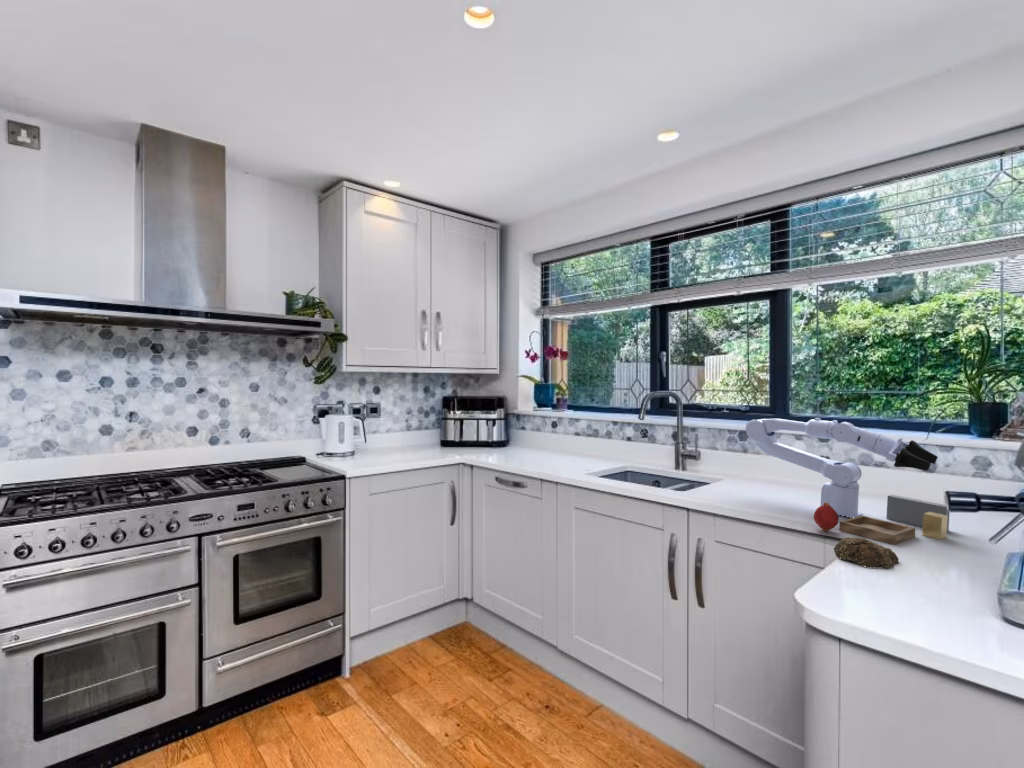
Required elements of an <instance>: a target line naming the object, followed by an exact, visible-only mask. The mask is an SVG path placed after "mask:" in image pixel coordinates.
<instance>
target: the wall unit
mask: <svg viewBox="0 0 1024 768" xmlns="http://www.w3.org/2000/svg"><path fill="white" fill-rule="evenodd" d="M886 500H887V501H886V505H887V506H886V518H887V519H886V520H890V519H891V520H890V521H894V520H895V522H900V523H903V524H907V525H912V526H916V527H922V528H923V515H924V513H927V512H933V513H938V514H943V515H948V517H947V532H948V531H949V530H950V529H949V528H950V516H951V515H950V513H951V512H949V511H948V510H947V506H946V505H947V504H943V503H942V504H941V503H938V502H933V501H928V500H921V499H916V498H912V497H905V496H901V495H896V494H889V495H887V499H886Z"/></svg>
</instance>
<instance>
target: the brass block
mask: <svg viewBox="0 0 1024 768" xmlns="http://www.w3.org/2000/svg"><path fill="white" fill-rule="evenodd" d="M947 517H948V515H943V514H938V513H933V512H927V513H924V515H923V527H922V536H924V537H929V538H932V539H936V540H939V541H941V540H943V539H946V538H947V532H948V531H947Z"/></svg>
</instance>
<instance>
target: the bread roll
mask: <svg viewBox="0 0 1024 768" xmlns="http://www.w3.org/2000/svg"><path fill="white" fill-rule="evenodd" d="M833 551H834V553H835V554H834V555H835V556H836V558H838V559H839V560H841V559H842V561H848V562H853V563H855V564H858V565H859V566H860V565H863V566H866V567H865V568H867V567H876V568H875V569H878V568H877V567H882V568H881V569H891V567H892V568H894V567H895V565H898V563H900V562H899V557H898V555H897V554H896V553H895V551H892V549H891V548H889V547H885V546H883V545H882V544H878V543H877V542H874V541H872V540H868V539H866V537H855V536H851V537H844V538H841V539H840V540H839V541H838V542H837V543H836V544H835V546H834V547H833ZM840 558H841V559H840ZM863 566H862V567H863Z"/></svg>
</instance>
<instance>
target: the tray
mask: <svg viewBox="0 0 1024 768" xmlns="http://www.w3.org/2000/svg"><path fill="white" fill-rule="evenodd" d="M838 526H839V527H838V529H839V531H841V532H845V533H849V534H853V535H856V536H860V537H862V538H868V539H872V540H876V541H879V542H883V543H885V544H886V543H887V544H891V545H897V544H900V543H902V542H905V541H908V540H910V539H913V538H915V537H916V527H913V526H909V525H906V524H905V525H904V524H900V523H895V522H891V521H888V520H883V519H878V518H874V517H870V516H866V515H861V516H857V517H854V518H846V519H843V520H839V525H838Z"/></svg>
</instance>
